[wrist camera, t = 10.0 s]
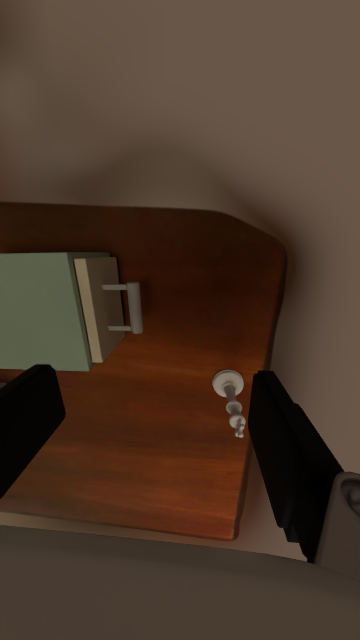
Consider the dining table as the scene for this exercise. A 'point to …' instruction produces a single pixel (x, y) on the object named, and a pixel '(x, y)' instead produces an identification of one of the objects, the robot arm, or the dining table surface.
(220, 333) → the dining table surface
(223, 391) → the chess piece
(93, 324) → the drawer
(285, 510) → the robot arm
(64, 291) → the cabinet
